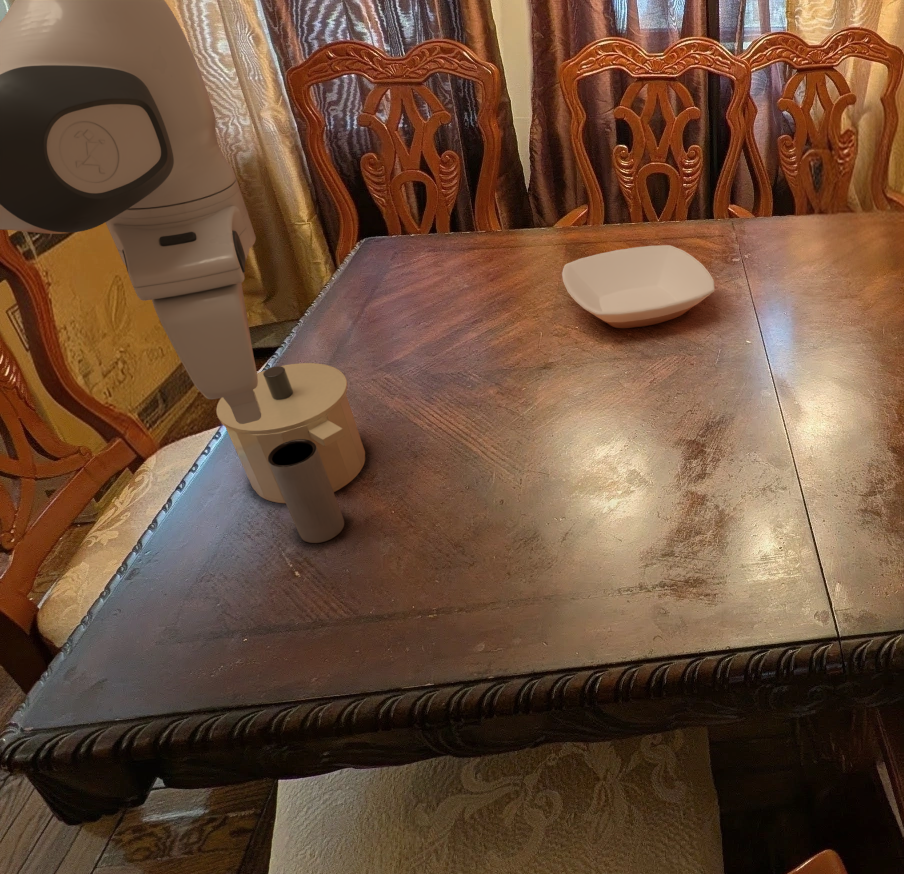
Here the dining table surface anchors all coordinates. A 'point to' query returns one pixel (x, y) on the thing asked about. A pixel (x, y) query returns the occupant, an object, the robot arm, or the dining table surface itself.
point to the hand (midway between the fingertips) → (246, 389)
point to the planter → (306, 490)
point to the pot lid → (290, 398)
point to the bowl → (638, 284)
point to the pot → (328, 433)
